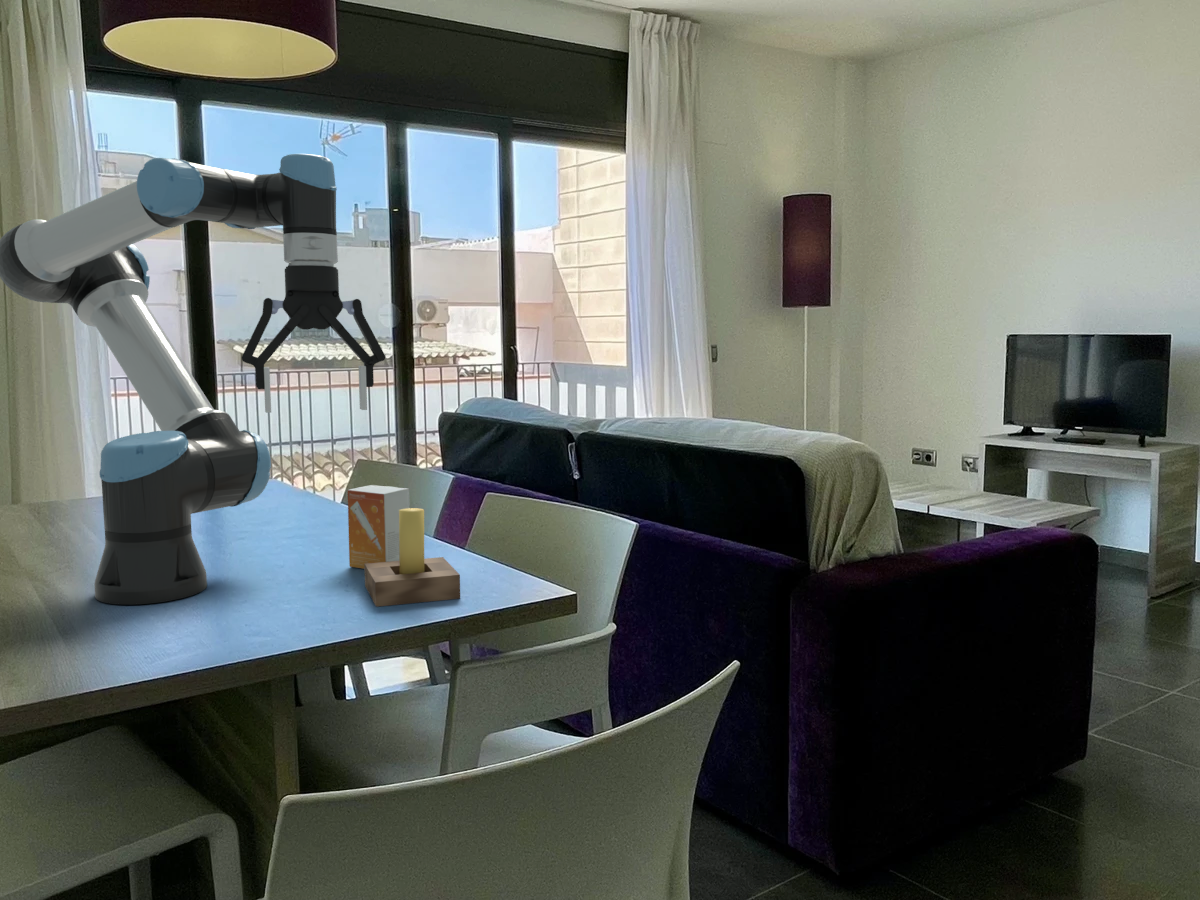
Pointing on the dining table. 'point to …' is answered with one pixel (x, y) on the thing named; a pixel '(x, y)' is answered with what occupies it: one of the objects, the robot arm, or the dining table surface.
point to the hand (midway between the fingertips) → (316, 410)
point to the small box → (375, 523)
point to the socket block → (411, 583)
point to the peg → (411, 540)
